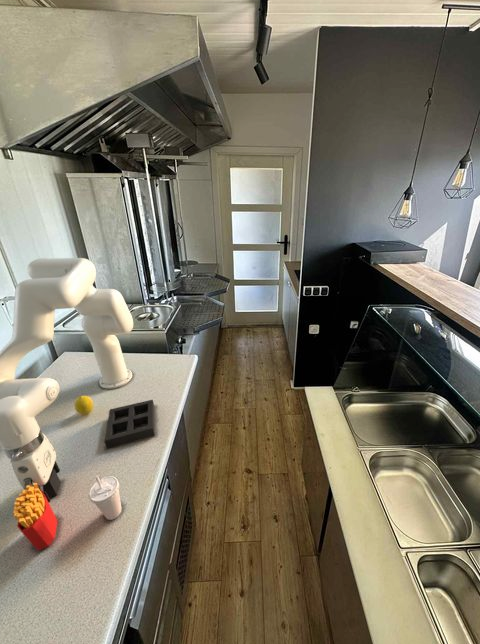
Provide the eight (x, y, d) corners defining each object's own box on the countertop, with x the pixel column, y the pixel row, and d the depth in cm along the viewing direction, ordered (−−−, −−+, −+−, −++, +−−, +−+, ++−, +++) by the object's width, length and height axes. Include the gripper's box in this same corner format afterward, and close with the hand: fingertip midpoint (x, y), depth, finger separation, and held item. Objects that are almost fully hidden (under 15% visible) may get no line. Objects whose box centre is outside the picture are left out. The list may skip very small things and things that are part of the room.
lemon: (88, 420, 101) (81, 403, 98) (75, 418, 102) (67, 401, 99) (99, 409, 106) (93, 392, 102) (86, 407, 107) (80, 390, 103)
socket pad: (112, 416, 102) (109, 409, 101) (154, 406, 107) (152, 399, 105) (106, 448, 90) (104, 440, 89) (154, 436, 94) (152, 428, 93)
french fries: (53, 548, 66) (32, 514, 60) (31, 557, 64) (7, 524, 59) (59, 510, 73) (41, 477, 68) (40, 518, 72) (19, 485, 66)
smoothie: (107, 499, 76) (93, 463, 70) (131, 499, 76) (118, 464, 69) (94, 525, 70) (77, 489, 64) (119, 526, 70) (105, 490, 64)
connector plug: (44, 486, 79) (36, 472, 77) (61, 482, 80) (53, 467, 78) (39, 500, 76) (31, 486, 73) (57, 495, 77) (49, 481, 74)
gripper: (29, 468, 64) (55, 514, 71) (52, 413, 78) (72, 457, 86) (-12, 478, 61) (19, 525, 69) (19, 421, 76) (43, 464, 84)
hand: (48, 487), depth 77 cm, fingers open, 8 cm apart
